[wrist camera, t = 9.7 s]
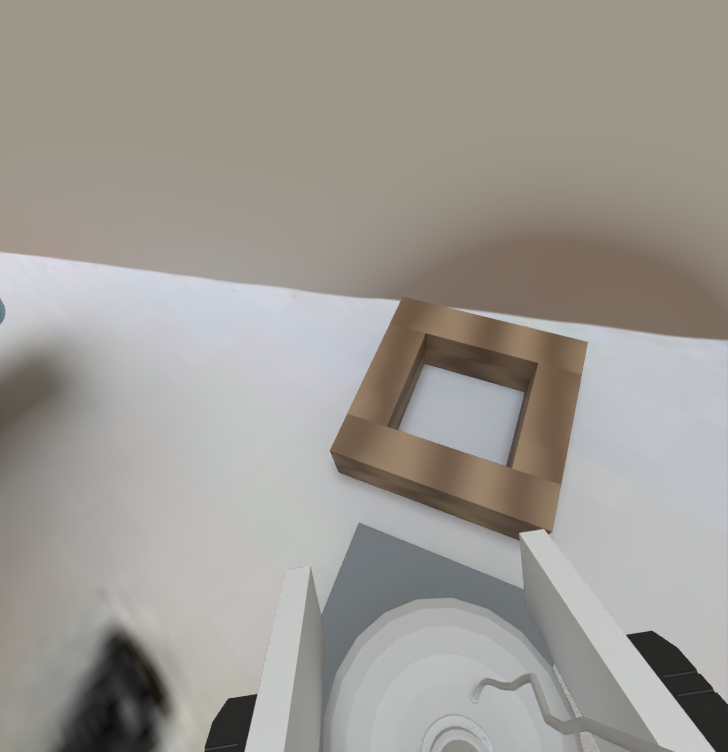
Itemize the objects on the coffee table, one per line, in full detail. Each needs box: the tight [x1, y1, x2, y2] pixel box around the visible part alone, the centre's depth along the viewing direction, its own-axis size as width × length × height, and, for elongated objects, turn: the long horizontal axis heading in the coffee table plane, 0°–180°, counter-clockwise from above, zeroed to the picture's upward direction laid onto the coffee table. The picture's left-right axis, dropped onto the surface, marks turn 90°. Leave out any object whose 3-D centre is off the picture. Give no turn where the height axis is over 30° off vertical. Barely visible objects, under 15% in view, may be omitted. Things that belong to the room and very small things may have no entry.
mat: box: [319, 523, 553, 752], centre depth 30 cm, size 16×16×1 cm
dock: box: [330, 297, 588, 540], centre depth 38 cm, size 17×17×5 cm
